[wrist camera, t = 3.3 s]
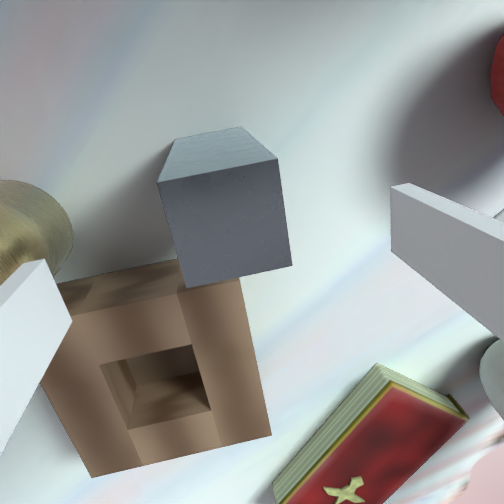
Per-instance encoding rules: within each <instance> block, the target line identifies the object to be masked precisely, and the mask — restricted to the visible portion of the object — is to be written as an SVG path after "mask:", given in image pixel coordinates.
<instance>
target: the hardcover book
mask: <svg viewBox="0 0 504 504" xmlns="http://www.w3.org/2000/svg"><path fill="white" fill-rule="evenodd" d="M468 420H469V417H468V415H467V414H466V412H465V411H464V410H463V409H462V407H461V406H460V405H459V404H458V403H457V401H456V400H455V399H454V398H453V397H452V396H451V395H450V394H448V395H447V396H444V395H442V394H440V393H438V392H436V391H434V390H432V389H430V388H428V387H426V386H424V385H422V384H420V383H417V382H415V381H413V380H411V379H409V378H407V377H405V376H403V375H401V374H399V373H397V372H395V371H393V370H391V369H388V368H386V367H384V366H382V365H380V364H378V363H376V364H375V365H374V366H373V368H372V369H371V370H370V371H369V372H368V373H367V374H366V376H365V377H364V378H363V379H362V380H361V381H360V383H359V384H358V385H357V386H356V387H355V388H354V389H353V391H352V392H351V393H350V394H349V395H348V396H347V397H346V399H345V400H344V401H343V402H342V403H341V404H340V406H339V407H338V408H337V409H336V410H335V411H334V412H333V414H332V415H331V416H330V417H329V418H328V419H327V420H326V422H325V423H324V424H323V425H322V426H321V427H320V428H319V430H318V431H317V432H316V433H315V434H314V435H313V437H312V438H311V439H310V440H309V441H308V442H307V443H306V445H305V446H304V447H303V448H302V449H301V450H300V451H299V453H298V454H297V455H296V456H295V457H294V458H293V459H292V461H291V462H290V463H289V464H288V465H287V466H286V468H285V469H284V470H283V471H282V472H281V473H280V474H279V476H278V477H277V478H276V479H275V480H274V481H273V482H272V485H273V491H274V496H275V501H276V504H383V503H384V502H385V501H386V500H387V499H388V498H389V497H390V496H391V495H392V494H393V493H394V492H395V491H396V490H397V489H398V488H399V487H400V486H401V485H402V484H403V483H404V482H405V481H406V480H407V479H408V478H409V477H411V476H412V475H413V474H414V473H415V472H416V471H417V470H418V469H419V468H420V467H421V466H422V465H423V464H424V463H425V462H426V461H427V460H428V459H429V458H430V457H431V456H432V455H433V454H434V453H435V452H436V451H437V450H438V449H439V448H440V447H441V446H442V445H443V444H444V443H445V442H446V441H448V440H449V439H450V438H451V437H452V436H453V435H454V434H455V433H456V432H457V431H458V430H459V429H460V428H461V427H462V426H463V425H464V424H465V423H466V422H467V421H468Z"/></svg>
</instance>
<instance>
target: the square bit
mask: <svg viewBox="0 0 504 504" xmlns="http://www.w3.org/2000/svg"><path fill="white" fill-rule="evenodd" d="M157 185H158V189H159V192H160V196H161V200H162V203H163V207H164V210H165V214H166V217H167V221H168V224H169V228H170V232H171V235H172V239H173V242H174V246H175V249H176V253H177V257H178V260H179V264H180V267H181V271H182V274H183V278H184V281H185V285H186V288H190V287H195V286H200V285H204V284H209V283H214V282H219V281H223V280H228V279H233V278H237V277H242V276H247V275H251V274H256V273H261V272H265V271H270V270H275V269H279V268H284V267H289V266H292V260H291V252H290V245H289V238H288V230H287V223H286V216H285V208H284V201H283V194H282V186H281V179H280V172H279V165H278V158H276V157H275V156H274V155H273V154H272V153H271V152H270V151H269V150H267V149H266V148H265V147H264V146H263V145H262V144H261V143H259V142H258V141H257V140H256V139H255V138H254V137H253V136H251V135H250V134H249V133H248V132H247V131H246V130H245V129H243V128H242V127H236V128H231V129H226V130H221V131H216V132H210V133H205V134H200V135H195V136H189V137H184V138H179V139H175V141H174V144H173V146H172V148H171V151H170V153H169V155H168V158H167V160H166V162H165V165H164V167H163V169H162V171H161V174H160V176H159V178H158V181H157Z"/></svg>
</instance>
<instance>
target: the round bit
mask: <svg viewBox="0 0 504 504" xmlns="http://www.w3.org/2000/svg"><path fill="white" fill-rule="evenodd" d="M72 245H73V230H72V226H71V223H70V220H69V218H68V216H67V214H66V212H65V211H64V209H63V208H62V207H61V206H60V204H59V203H58V202H57V201H56V200H55V199H54V198H53V197H51V196H50V195H49V194H47V193H46V192H44V191H43V190H41V189H39V188H37V187H35V186H33V185H30V184H27V183H24V182H20V181H13V180H0V286H1V285H2V284H3V283H4V282H5V281H6V280H7V279H8V278H9V277H10V276H11V275H12V274H13V273H14V272H15V271H16V270H17V269H18V268H19V267H20V266H21V265H22V264H23V263H27V262H31V261H36V260H41V259H45V261H46V263H47V265H48V267H49V270H50V272H51V274H52V276H54V275H55V273H56V272H57V271H58V269H59V268H60V267H61V266H62V264H63V263H64V262H65V260H66V259H67V257H68V256H69V254H70V252H71V249H72Z"/></svg>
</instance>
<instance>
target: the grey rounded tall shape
mask: <svg viewBox="0 0 504 504" xmlns="http://www.w3.org/2000/svg"><path fill="white" fill-rule="evenodd" d="M479 374H480V380H481V384H482V386H483V388H484V391H485V393H486V395H487V396H488V398H489V400H490V402H491V404H492V405H493V407H494V408H495V410H496V411H497V413H498V414H499V415H500V416H501V417H502V419H503V420H504V342H503V341H502V340H501V339H499V340H497V341H496V342H494V343H493V344H492V345H491V346H490V347H489V348H488V349H487V350H486V352H485V354H484V355H483V357H482V359H481V361H480V371H479Z"/></svg>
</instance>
